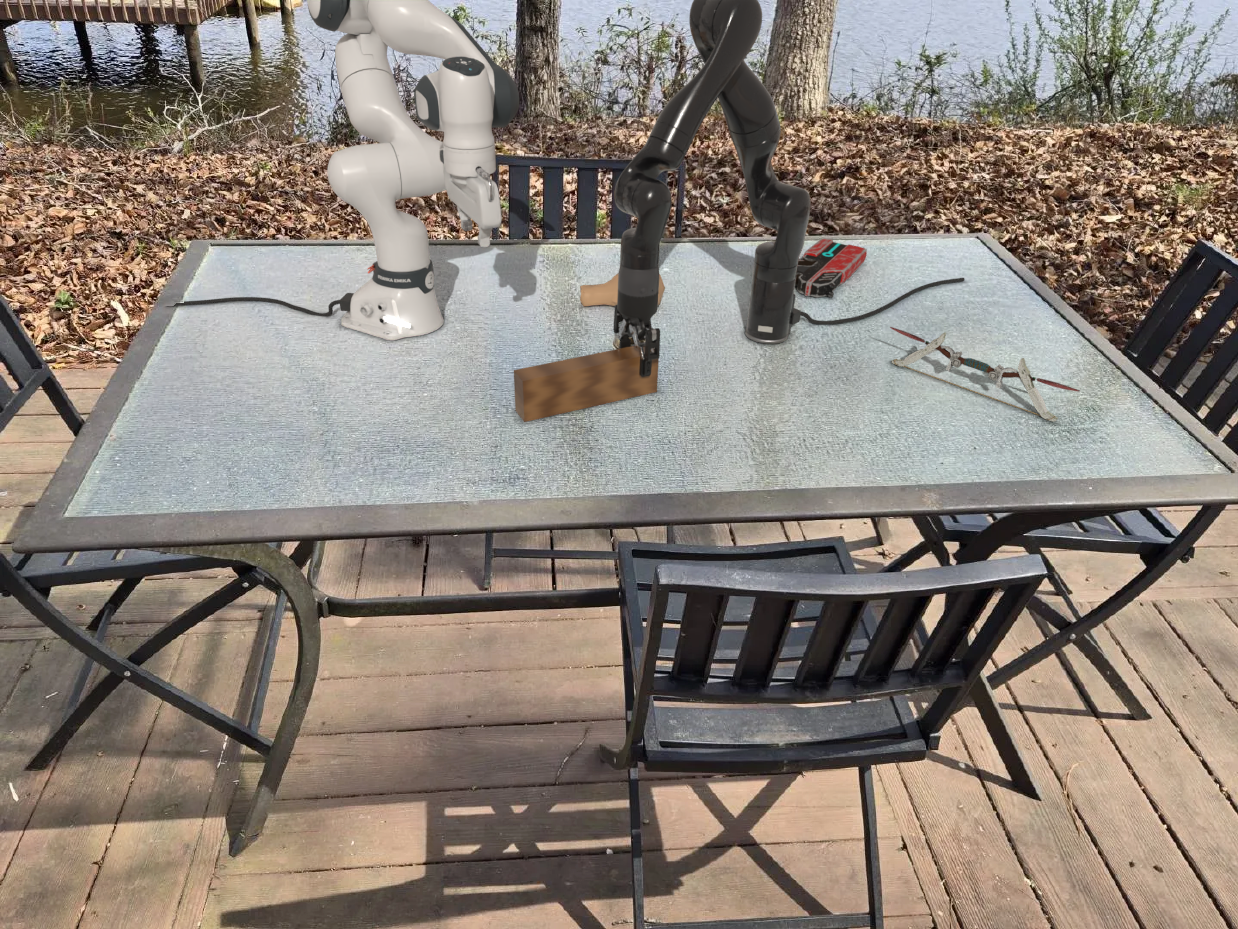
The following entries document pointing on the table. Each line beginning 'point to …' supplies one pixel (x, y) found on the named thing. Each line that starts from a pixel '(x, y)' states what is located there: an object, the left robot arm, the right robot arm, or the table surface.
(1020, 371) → the bow
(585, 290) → the squash
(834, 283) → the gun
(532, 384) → the bar
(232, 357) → the table surface
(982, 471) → the table surface
